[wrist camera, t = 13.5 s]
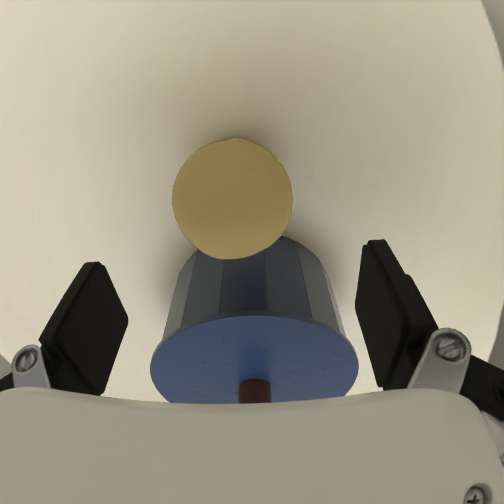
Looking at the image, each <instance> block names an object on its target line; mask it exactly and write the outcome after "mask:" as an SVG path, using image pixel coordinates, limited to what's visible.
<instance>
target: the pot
mask: <svg viewBox="0 0 504 504" xmlns="http://www.w3.org/2000/svg"><path fill="white" fill-rule="evenodd" d="M254 310H263V311H279V312H286V313H293V314H297V315H301V316H306V317H310V318H312V319H315V320H318V321H321V322H323V323H325V324H327V325H329V326H331V327H333V328H335V329H336V330H337V331H339V332H340V333H342V334H343V335H344V336H345V337H346V335H345V331H344V328H343V324H342V321H341V317H340V314H339V310H338V307H337V304H336V300H335V297H334V294H333V290H332V287H331V284H330V281H329V279H328V277H327V275H326V273H325V270H324V268H323V266H322V265H321V263H320V261H319V260H318V259H317V258H316V257H315V255H314V254H312V253H311V252H310V251H309V250H308V249H307V248H305V247H304V246H302V245H300V244H299V243H297V242H295V241H293V240H291V239H288V238H285V237H282V236H280V237H279V238H278V239H277V240H276V241H275V242H274V243H273V244H272V245H270V246H269V247H268V248H266V249H264V250H262V251H260V252H258V253H256V254H254V255H251V256H248V257H244V258H238V259H217V258H214V257H211V256H209V255H207V254H205V253H203V252H202V251H201V250H198V251H197V252H196V253H195V254H194V255H193V256H192V257H191V258H190V259H189V260H188V261H187V263H186V264H185V265H184V267H183V269H182V271H181V272H180V274H179V277H178V281H177V284H176V288H175V292H174V295H173V299H172V303H171V307H170V311H169V315H168V319H167V323H166V327H165V331H164V335H163V339H164V338H165V337H166V336H167V335H169V334H170V333H171V332H173V331H174V330H176V329H178V328H179V327H181V326H183V325H185V324H187V323H190V322H192V321H195V320H198V319H201V318H204V317H207V316H212V315H217V314H221V313H228V312H236V311H254ZM163 339H162V340H163Z"/></svg>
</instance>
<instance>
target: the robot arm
mask: <svg viewBox="0 0 504 504" xmlns="http://www.w3.org/2000/svg"><path fill="white" fill-rule="evenodd" d="M355 311H356V314H357V317H358V321H359V324H360V327H361V330H362V334H363V337H364V340H365V344H366V347H367V350H368V354H369V357H370V361H371V364H372V368H373V371H374V375H375V379H376V382H377V385H378V387H383V391H380V392H371V393H365V394H358V395H350V396H342V397H333V398H323V399H313V400H303V401H290V402H275V403H253V404H189V403H167V402H152V401H140V400H129V399H119V398H111V397H103V396H100V395H101V394H103V393H104V391H105V388H106V385H107V382H108V379H109V376H110V373H111V370H112V367H113V364H114V361H115V358H116V356H117V353H118V350H119V347H120V344H121V342H122V339H123V336H124V334H125V331H126V328H127V326H128V316H127V314H126V312H125V309H124V307H123V305H122V303H121V301H120V299H119V297H118V295H117V292H116V290H115V288H114V286H113V283H112V281H111V279H110V277H109V274H108V272H107V270H106V268H105V266H104V265H102V264H101V263H100V262H87V263H85V264H84V265H83V266H82V268H81V269H80V271H79V272H78V274H77V275H76V277H75V278H74V280H73V282H72V283H71V285H70V286H69V288H68V290H67V291H66V293H65V294H64V296H63V298H62V299H61V301H60V303H59V304H58V306H57V308H56V309H55V311H54V313H53V314H52V316H51V318H50V320H49V321H48V323H47V325H46V327H45V329H44V330H43V332H42V334H41V336H40V338H39V341H40V343H41V344H42V346H41V348H39V347H38V346H37V345H27V346H25V347H23V348H22V349H20V350H19V351H18V352H17V353H16V355H15V356H14V358H13V361H12V367H11V368H12V372H11V373H10V374H8V375H7V376H5V377H4V378H2V379H1V380H0V504H504V370H502V369H500V368H498V367H496V366H493V365H491V364H489V363H487V362H485V361H483V360H481V359H479V358H477V357H475V356H473V355H471V345H470V342H469V340H468V339H467V337H466V336H465V335H464V334H462V333H461V332H459V331H458V330H456V329H452V328H441V329H439V328H438V326H437V324H436V322H435V320H434V318H433V316H432V314H431V312H430V310H429V309H428V307H427V305H426V303H425V301H424V299H423V297H422V295H421V294H420V292H419V290H418V288H417V286H416V285H415V283H414V281H413V279H412V278H411V276H410V275H408V274H405V273H404V271H403V269H402V267H401V266H400V264H399V262H398V260H397V259H396V257H395V255H394V254H393V252H392V250H391V249H390V247H389V245H388V244H387V242H386V241H385V240H384V239H381V240H369V241H368V243H367V245H363V248H362V256H361V264H360V272H359V279H358V286H357V293H356V299H355Z"/></svg>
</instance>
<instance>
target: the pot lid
mask: <svg viewBox="0 0 504 504" xmlns="http://www.w3.org/2000/svg"><path fill="white" fill-rule="evenodd" d="M358 369H359V365H358V358H357V355H356V352H355V349H354V347H353V346H352V344H351V342H350V341H349V340H348V339H347V338H346V337H345V336H344V335H343V334H342V333H340V332H339V331H337V330H336V329H335V328H333V327H331V326H329V325H327V324H325V323H323V322H321V321H318V320H315V319H312V318H310V317H306V316H301V315H297V314H293V313H286V312H279V311H263V310H254V311H236V312H228V313H221V314H217V315H212V316H207V317H204V318H201V319H198V320H195V321H192V322H190V323H187V324H185V325H183V326H181V327H179V328H178V329H176V330H174V331H173V332H171V333H170V334H169V335H167V336H166V337H165V338H164V339H163V340H162V341H161V342H160V343H159V345H158V346H157V347H156V349H155V351H154V353H153V356H152V360H151V365H150V374H151V378H152V381H153V383H154V385H155V387H156V389H157V390H158V391H159V392H160V394H161V395H162V396H163V397H164V398H165V399H166V400H167V401H169V402H170V403H189V404H253V403H275V402H290V401H303V400H313V399H323V398H333V397H342V396H345V395H346V393H347V392H348V391H349V390H350V389H351V387H352V386H353V384H354V382H355V380H356V378H357V375H358Z"/></svg>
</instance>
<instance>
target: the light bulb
mask: <svg viewBox="0 0 504 504" xmlns="http://www.w3.org/2000/svg"><path fill="white" fill-rule="evenodd" d="M292 200H293V198H292V190H291V184H290V181H289V178H288V176H287V173H286V171H285V170H284V168H283V166H282V165H281V163H280V162H279V161H278V160H277V158H276V157H275V156H273V155H272V154H271V153H270V152H269V151H268V150H266V149H264V148H263V147H261V146H259V145H257V144H254V143H252V142H249V141H248V140H245V139H240V138H233V139H228V140H223V141H218V142H214V143H211V144H209V145H206V146H205V147H203V148H201V149H199V150H198V151H197V152H195V153H194V154H193V155H192V156H191V157H190V158H189V159H188V160H187V161H186V162H185V163H184V165H183V166H182V167H181V169H180V171H179V173H178V175H177V177H176V180H175V183H174V186H173V193H172V206H173V211H174V215H175V218H176V220H177V223H178V225H179V227H180V229H181V230H182V232H183V234H184V235H185V236H186V238H187V239H188V240H189V241H190V242H191V243H192V244H193V245H194V246H195V247H197V248H198V249H199V250H201V251H202V252H203V253H205V254H207V255H209V256H211V257H214V258H217V259H238V258H244V257H248V256H251V255H254V254H256V253H258V252H260V251H262V250H264V249H266V248H268V247H269V246H270V245H272V244H273V243H274V242H275V241H276V240H277V239H278V238H279V237H280V236H281V235H282V233H283V232H284V230H285V228H286V227H287V224H288V221H289V218H290V215H291V211H292Z"/></svg>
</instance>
